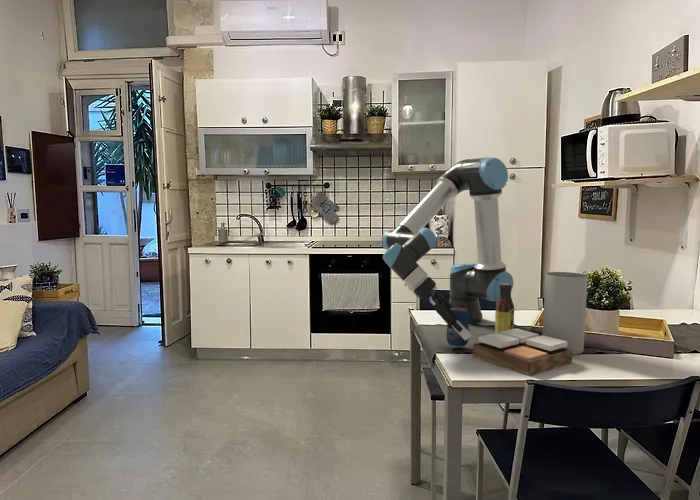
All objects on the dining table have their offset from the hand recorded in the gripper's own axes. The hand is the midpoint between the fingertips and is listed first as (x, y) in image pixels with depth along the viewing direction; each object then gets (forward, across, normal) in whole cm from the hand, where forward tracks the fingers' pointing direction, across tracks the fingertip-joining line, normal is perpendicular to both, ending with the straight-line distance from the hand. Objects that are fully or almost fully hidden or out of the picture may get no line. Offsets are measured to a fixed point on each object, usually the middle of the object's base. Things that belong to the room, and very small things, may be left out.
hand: (468, 334), depth 163 cm
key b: (+6, +7, +7) cm, 11 cm away
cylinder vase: (+25, -8, +17) cm, 31 cm away
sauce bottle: (+12, -15, +4) cm, 19 cm away
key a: (+11, -1, +11) cm, 16 cm away
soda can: (0, 0, -5) cm, 5 cm away
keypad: (+15, +6, +8) cm, 18 cm away
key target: (+13, +13, +11) cm, 21 cm away
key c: (+16, +6, +16) cm, 24 cm away
